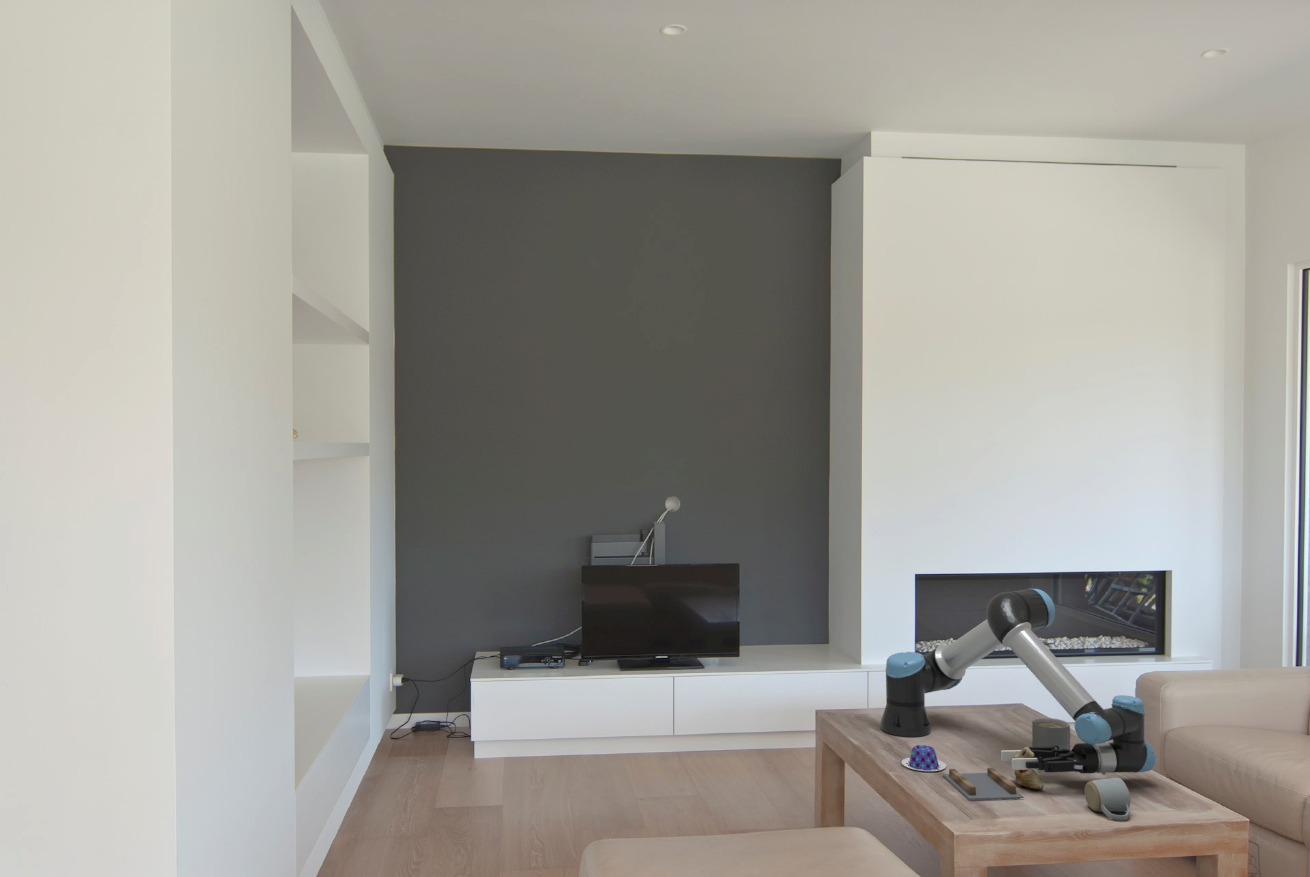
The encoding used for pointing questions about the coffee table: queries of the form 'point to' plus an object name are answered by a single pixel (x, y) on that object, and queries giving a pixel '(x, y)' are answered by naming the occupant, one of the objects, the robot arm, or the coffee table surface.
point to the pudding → (923, 759)
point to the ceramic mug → (1108, 797)
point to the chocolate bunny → (1028, 772)
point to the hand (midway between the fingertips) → (1007, 760)
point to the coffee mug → (1050, 733)
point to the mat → (983, 787)
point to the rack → (990, 772)
